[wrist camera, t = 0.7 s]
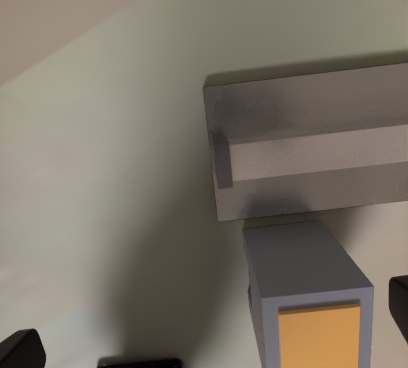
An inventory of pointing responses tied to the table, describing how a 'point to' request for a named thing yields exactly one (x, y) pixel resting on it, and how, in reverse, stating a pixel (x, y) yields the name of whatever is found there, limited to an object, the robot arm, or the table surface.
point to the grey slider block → (307, 298)
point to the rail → (305, 114)
